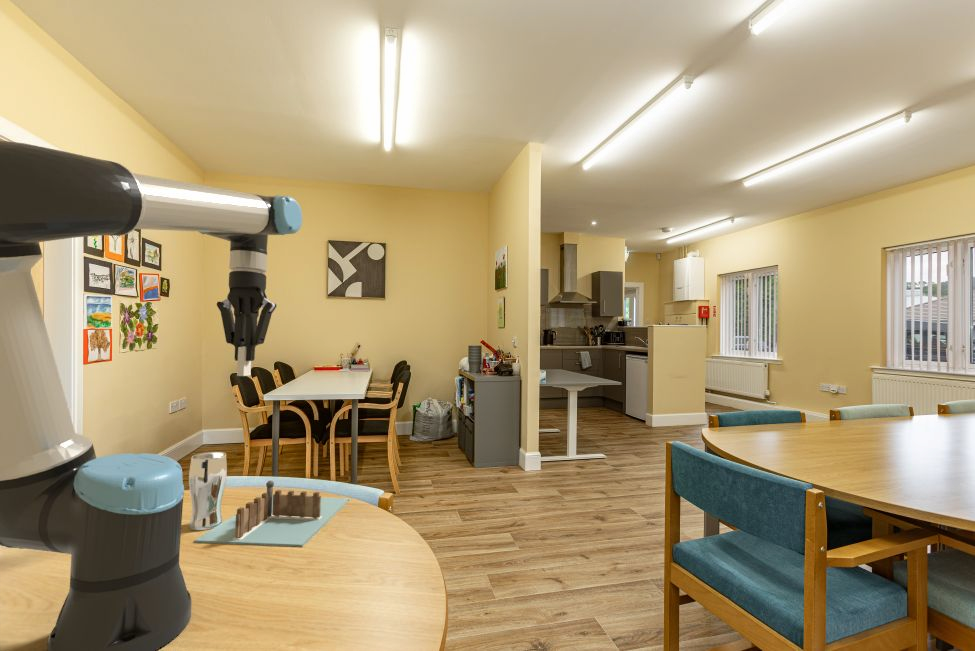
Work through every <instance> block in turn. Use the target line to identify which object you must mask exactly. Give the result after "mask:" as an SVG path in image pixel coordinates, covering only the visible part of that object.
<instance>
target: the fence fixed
mask: <svg viewBox="0 0 975 651" xmlns="http://www.w3.org/2000/svg"><path fill="white" fill-rule="evenodd" d="M265 486H266V492H263V493H262V494H261V497H259V496H258V497H255V498H254V499H253V502H252V501H248V502H247V503H245V507H239V508H237V509H236V514H235V515H236V527H235V538H241V537H242V536H243V534H244V533H245V532H249V531H251V530H252V527H254V526H258V525H259V524H260V522H261V521H262V520H266V519H267V517H270V516H272V497H273V495H274V493H273V492H274V486H275V482H274V481H273V480H267V482H266V485H265Z"/></svg>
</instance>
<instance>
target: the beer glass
mask: <svg viewBox="0 0 975 651" xmlns="http://www.w3.org/2000/svg"><path fill="white" fill-rule="evenodd" d="M189 464H190V466H189V472H188V473H189V474H188V487H189V494H190V495H189V496H190V500H191V517H190V521H189V525H188V528H189V530H191V531H198V532H200V531H208V530H212V529H213V528H215V527H216V526H218V525H220V524H221V523H223V516H222V500H223V496H224V492H225V487H226V481H227V476H228V474H227V473H228V470H227V469H228V466H227V464H228V462H227V453H226V452H224V451H223V452H222V451H209V452H202V453H201V452H200V453H196V454H193V455H192V456H191V459H190V463H189Z"/></svg>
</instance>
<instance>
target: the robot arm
mask: <svg viewBox="0 0 975 651" xmlns="http://www.w3.org/2000/svg"><path fill="white" fill-rule="evenodd" d="M302 214H303V213H302V208H301V206H300V204H299V203H298V201H297V200H295V198H294V197H291V196H288V195H273V196H271V195H269V196H267V195H261V194H255V193H254V194H253V193H248V192H244V191H243V192H242V191H237V190H231V189H225V188H220V187H215V186H208V185H204V184H197V183H191V182H187V181H185V182H184V181H181V180H173V179H168V178H162V177H157V176H151V175H144V174H139V173H133V171H131V170H130V169H129V168H127V166H125V165H124V164H121V163H120V162H119V163H118V162H115V161H112V160H106V159H100V158H96V157H91V156H87V155H82V154H77V153H72V152H68V151H64V150H60V149H54V148H49V147H45V146H39V145H35V144H29V143H24V142H23V143H22V142H17V141H16V142H15V141H10V140H0V546H2V547H5V548H10V549H12V548H13V549H19V550H20V549H25V550H26V549H27V550H34V551H41V552H42V551H43V552H50V553H51V552H53V553H60V554H67V555H70V557H71V559H70V560H71V561H70V576H69V578H70V579H69V580H70V581H69V589H68V593H67V595H66V597H65V600H64V602H63V604H62V607H61V609H60V612H59V614H58V617H57V619H56V622H55V625H54V627H53V628H52V630H51V632H50V634H49V636H48V639H47V644H46V651H155V650H156V651H158V650H159V649H161V648H163V647H164V646H166V645H167V644H169V643H170V642H172V641H173V640H174V639H175V638H177V637H178V636H179V635H180V634H181V633H182V632H183V631H184V630H185V629H186V627H188V624H189V623H190V620H191V618H192V605H193V604H192V603H193V601H192V596H191V594H190V592H189V590H188V589H187V584H186V582H185V579H184V575H183V572H182V569H181V565H180V554H181V553H180V552H181V551H180V549H181V536H182V534H181V533H182V520H183V505H184V494H185V486H184V482H183V478H184V477H183V476H184V475H183V469H182V466H181V464H180V463H179V461H177V460H175V459H174V458H171V457H169V456H165V455H160V454H156V453H148V452H146V453H143V452H142V453H132V452H131V453H129V452H128V453H119V454H118V453H117V454H110V455H106V456H101V457H97V455H96V452H95V446H94V444H93V439H91V438H90V437H88V436H86V435H82V434H79V433H77V432H76V431H75V427H74V424H73V421H72V417H71V412H70V410H69V406H68V402H67V398H66V395H65V391H64V388H63V384H62V381H61V377H60V374H59V370H58V367H57V366H58V365H57V362H56V358H55V355H54V351H53V348H52V344H51V340H50V338H49V334H48V329H47V327H46V323H45V322H46V321H45V320H44V319H45V318H44V315H43V312H42V308H41V305H40V301H39V297H38V294H37V291H36V290H37V289H36V286H35V283H34V279H33V276H32V268H33V267H34V266H36V264H37V263H38V262H39V261H40V260H42V258H43V252H42V249H41V245H40V243H42V242H50V241H58V240H66V239H72V238H83V237H86V238H87V237H94V236H114V237H115V236H118V237H119V236H125V235H128V234H130V233H132V232H133V231H134V230H153V231H154V230H155V231H157V230H158V231H175V232H176V231H178V232H179V231H180V232H198V233H200V234H202V235H207V236H211V237H214V238H217V239H220V240H225V241H228V242H230V243H229V244H230V246H229V247H230V248H229V249H230V250H229V266H228V268H229V269H230V270H231V271H230V272H229V274H228V287H229V292H228V293H227V296H226V299H224V300H222V301H217V302H216V306H217V308H218V310H219V312H220V316H221V320H222V327H223V331H224V337H225V342H226V343H227V344H230V345H232V346H233V347H234V361H237V368H236V371H237V372H236V373H237V374H236V377H248V376H251V374H252V373H251V370H252V362H253V361H255V356H256V355H255V354H256V346H258V345H259V346H260V345H262V344H264V343H265V340H266V336H267V334H268V330H269V325H270V322H271V319H272V315H273V313H274V311H275V310H276V308H277V304H276V303H275V302H271V301H270V300H268V298H267V295H266V289H267V275H266V274H265V273H267V267H268V239H269V238H268V237H269V236H285V235H292V234H296V233H297V232H299V230H300V229H301V227H302V225H303V215H302ZM232 308H233V309H232ZM261 308H262V309H261ZM260 309H261V312H260ZM177 635H178V636H177ZM172 639H173V640H172ZM168 642H169V643H168ZM160 647H161V648H160Z"/></svg>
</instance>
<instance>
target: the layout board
mask: <svg viewBox="0 0 975 651" xmlns="http://www.w3.org/2000/svg"><path fill="white" fill-rule="evenodd" d="M349 499H350V498H349V497H348V498H345V497H342V498H341V497H321V512H320V517H319V518H312V517H296V516H291V517H290V516H274V515H272V516H270V517H267V519H266V520H262V521H261V522H260V524H259V525H258V526H254V527H252V530H251V531H249V532H245V533H244V534H243V536H242V537H241V538H235V527H236V514H234V515H233V516H231V517H229V518H227V519H226V520H223V521H222V523H221V524H220V525H218V526H216V527H215V528H212V529H209V531H208V530H207V532H205V533H203V534H202V535H201V536H198V538H195V539H194V541H193V542H194V543H200V544H201V543H203V544H222V545H223V544H226V545H227V544H228V545H247V546H248V545H249V546H276V547H277V546H278V547H300V548H301V547H302V548H303V547H304V546H305V545H306V544H307V543H308V542H309V541H310V540H311V539H312V538H313V537H314V536H315V535H316V534H317V533H318V532H319V531H320V530H321V529H322V528H323V527H325V525H326V524H327V523H328V522H329V521H330V520H331V519H332V518H333V517H335V515H336V514H337V513H338V512H339V511H340V510H341V509H342V508H343V507H344V506H345V505H347V503H348V502H349V501H350V500H349ZM348 500H349V501H348ZM272 511H273V497H272Z"/></svg>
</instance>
